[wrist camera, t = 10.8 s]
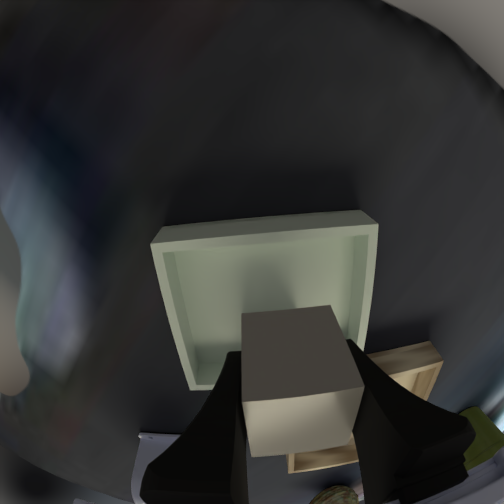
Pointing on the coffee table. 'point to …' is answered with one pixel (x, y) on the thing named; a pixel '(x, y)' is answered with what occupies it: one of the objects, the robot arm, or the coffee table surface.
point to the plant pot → (481, 438)
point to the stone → (297, 381)
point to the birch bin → (399, 369)
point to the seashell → (336, 496)
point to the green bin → (261, 278)
